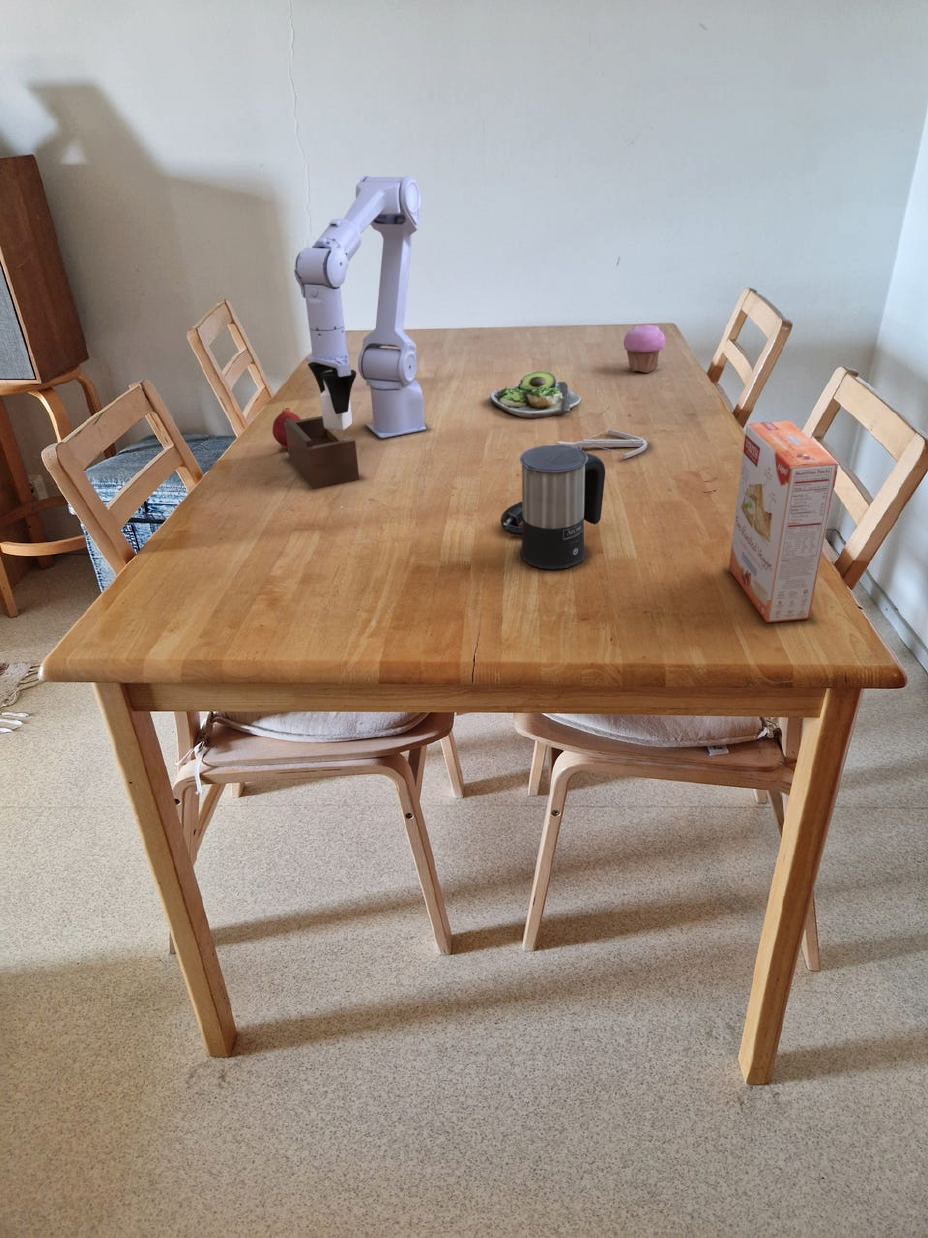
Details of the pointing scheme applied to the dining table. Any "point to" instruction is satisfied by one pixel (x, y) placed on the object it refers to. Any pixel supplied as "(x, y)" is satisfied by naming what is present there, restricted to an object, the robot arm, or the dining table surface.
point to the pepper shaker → (333, 413)
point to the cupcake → (644, 347)
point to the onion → (283, 426)
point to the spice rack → (320, 452)
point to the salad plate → (536, 397)
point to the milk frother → (556, 504)
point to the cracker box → (781, 519)
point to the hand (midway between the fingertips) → (336, 407)
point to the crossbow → (612, 443)
